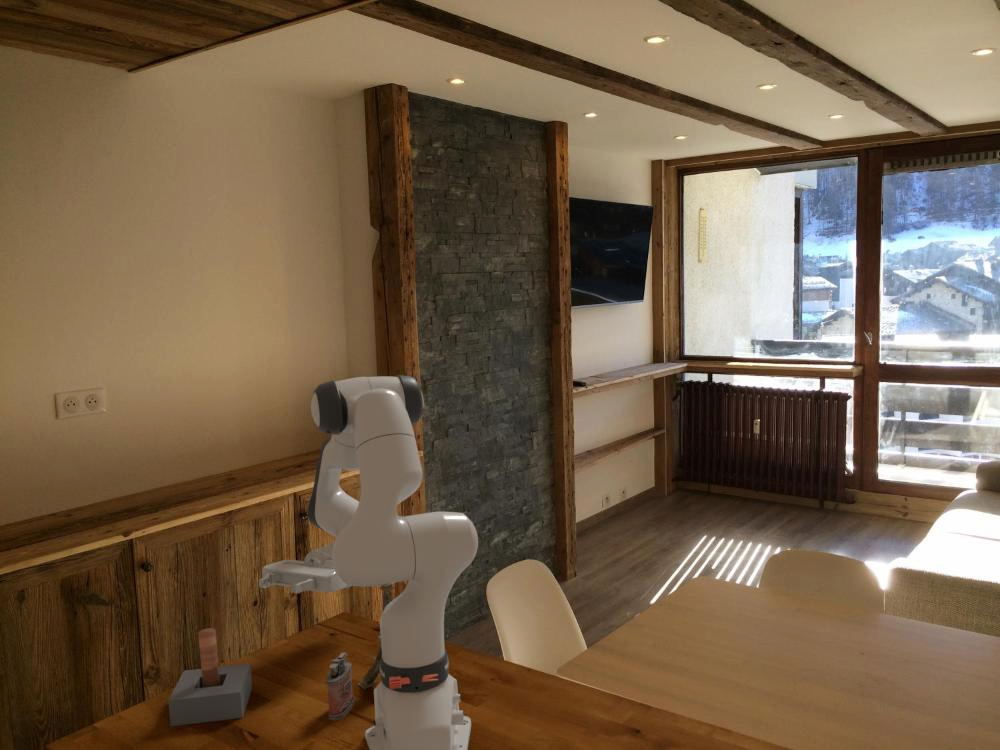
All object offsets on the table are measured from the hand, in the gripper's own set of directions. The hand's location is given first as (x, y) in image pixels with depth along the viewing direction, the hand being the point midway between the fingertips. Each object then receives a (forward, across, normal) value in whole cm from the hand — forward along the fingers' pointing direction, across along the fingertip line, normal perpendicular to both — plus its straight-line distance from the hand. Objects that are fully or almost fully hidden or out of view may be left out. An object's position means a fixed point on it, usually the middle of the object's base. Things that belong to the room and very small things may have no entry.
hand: (277, 586), depth 177 cm
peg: (+17, -2, +18) cm, 25 cm away
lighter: (+7, +22, +19) cm, 30 cm away
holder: (+17, -2, +19) cm, 25 cm away
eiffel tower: (-5, +25, +19) cm, 32 cm away
